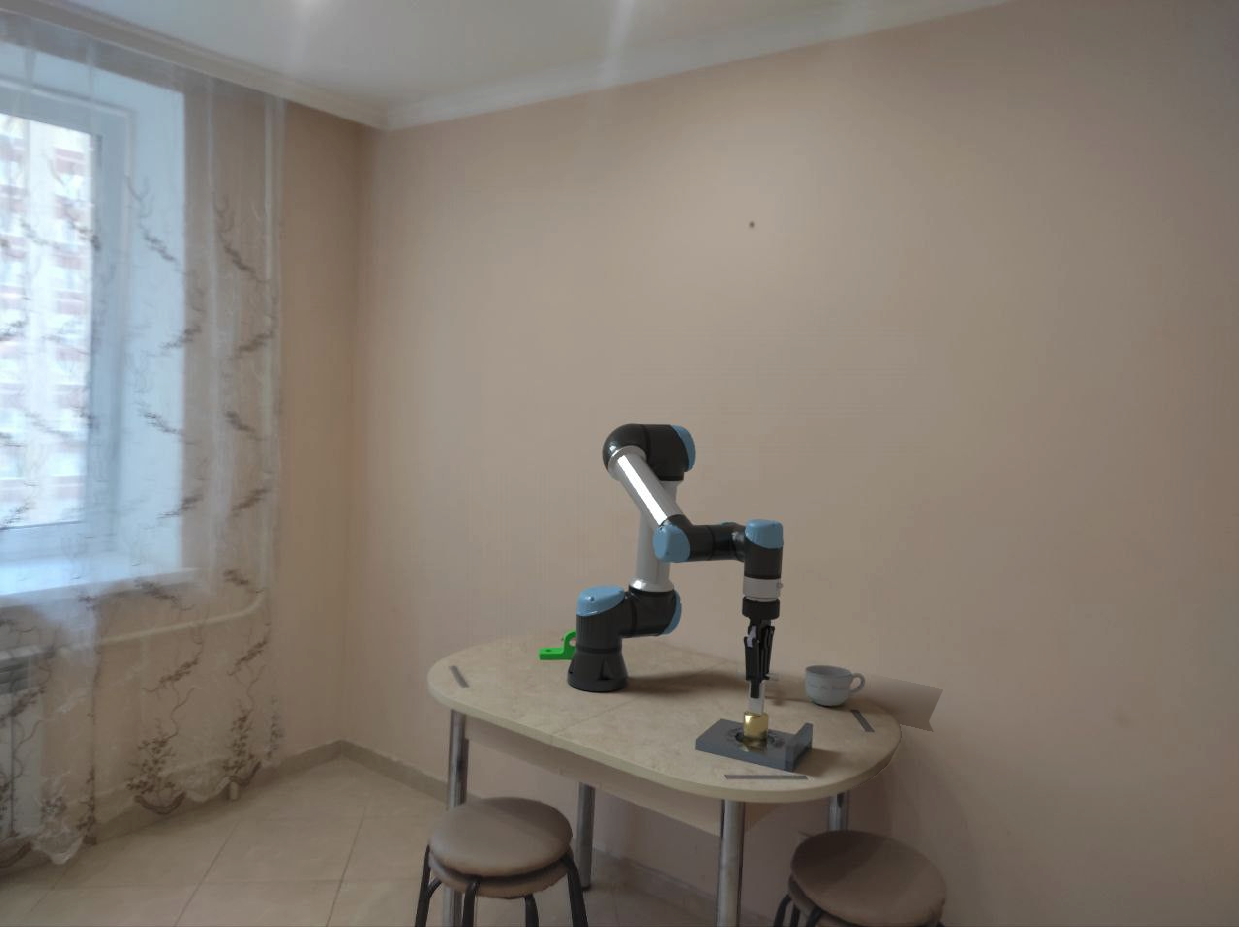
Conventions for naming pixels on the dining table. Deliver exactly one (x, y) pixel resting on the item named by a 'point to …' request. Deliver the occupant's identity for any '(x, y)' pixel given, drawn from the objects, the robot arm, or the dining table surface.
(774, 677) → the pipe connector
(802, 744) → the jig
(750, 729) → the gold round-ended peg
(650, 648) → the dining table surface
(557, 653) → the mechanical part
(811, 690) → the teacup
